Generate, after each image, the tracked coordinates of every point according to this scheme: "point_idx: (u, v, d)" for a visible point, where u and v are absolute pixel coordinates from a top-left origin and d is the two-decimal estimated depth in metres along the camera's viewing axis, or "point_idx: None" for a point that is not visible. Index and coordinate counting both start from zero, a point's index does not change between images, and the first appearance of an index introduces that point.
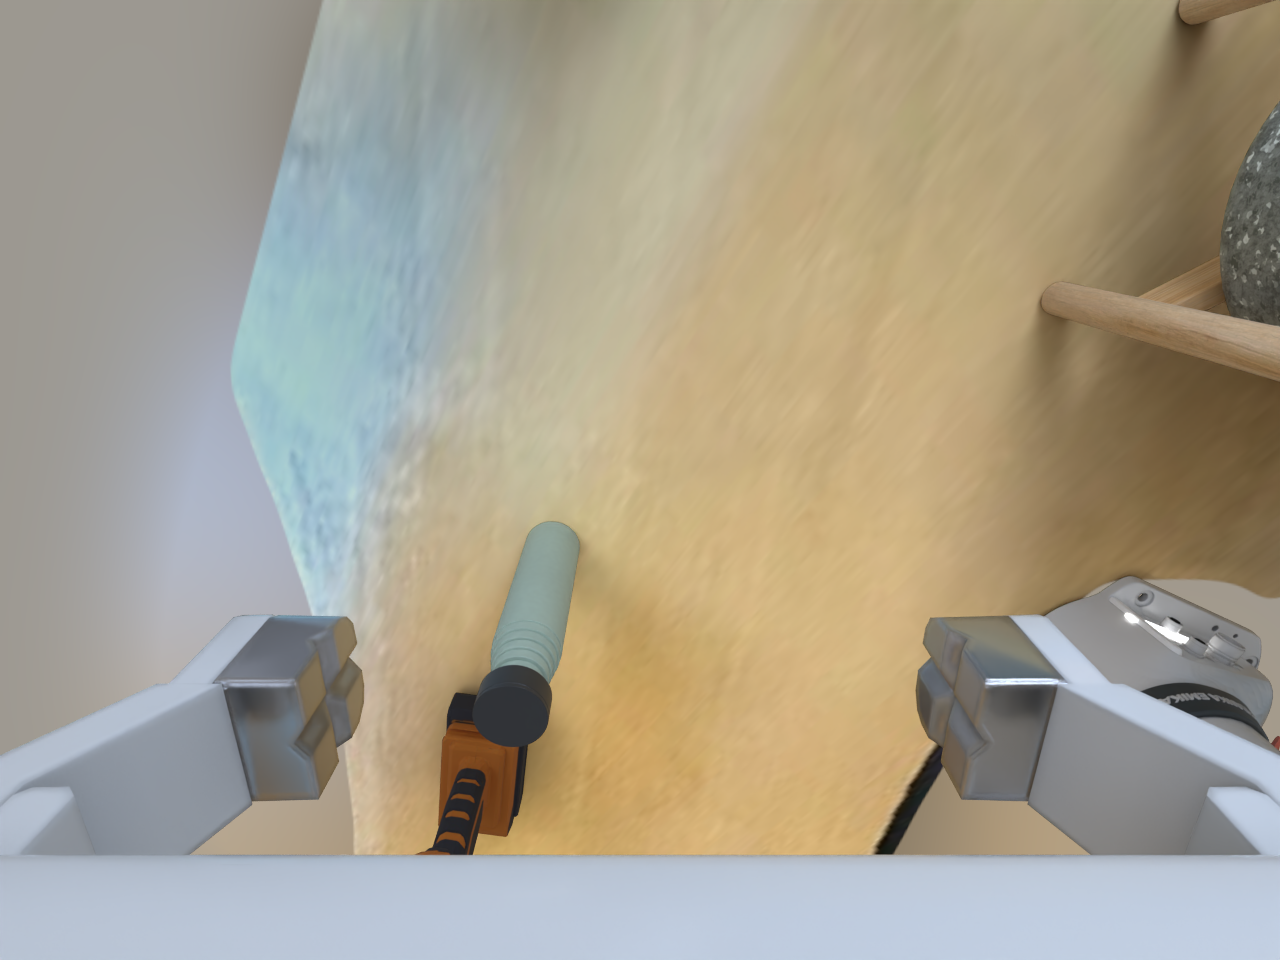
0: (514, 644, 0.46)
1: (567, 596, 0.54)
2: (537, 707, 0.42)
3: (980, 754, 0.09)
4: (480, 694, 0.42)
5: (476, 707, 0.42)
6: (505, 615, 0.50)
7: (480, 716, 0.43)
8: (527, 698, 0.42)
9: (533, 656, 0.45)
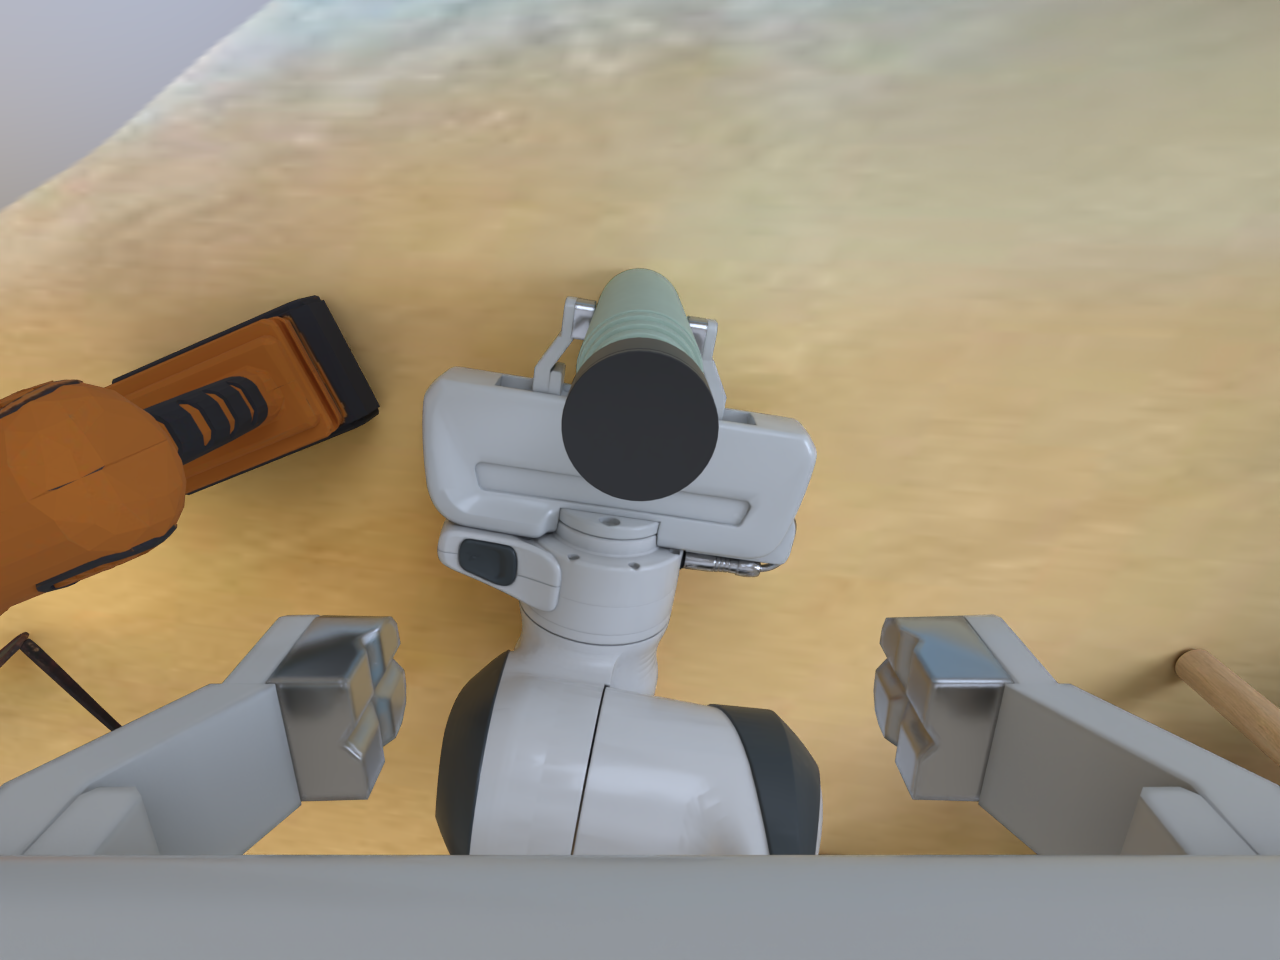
0: None
1: None
2: (689, 464, 0.21)
3: (928, 755, 0.09)
4: (655, 350, 0.20)
5: (626, 358, 0.20)
6: (658, 306, 0.27)
7: (610, 375, 0.20)
8: (700, 438, 0.21)
9: None
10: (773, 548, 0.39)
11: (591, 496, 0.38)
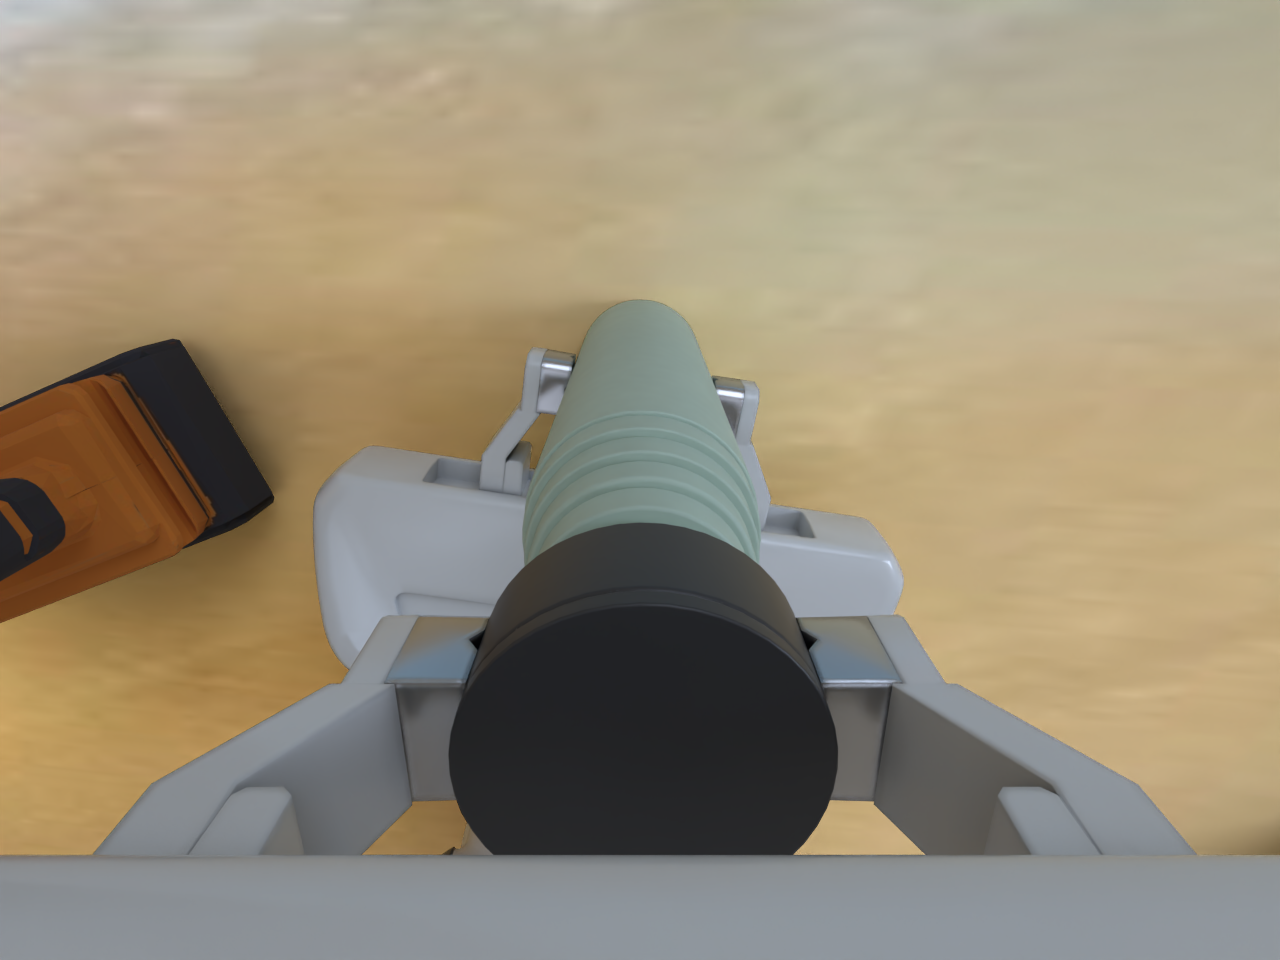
0: (730, 509, 0.12)
1: None
2: (760, 841, 0.09)
3: None
4: (683, 596, 0.08)
5: (609, 620, 0.08)
6: (674, 395, 0.15)
7: (566, 659, 0.08)
8: (791, 791, 0.08)
9: None
10: None
11: None
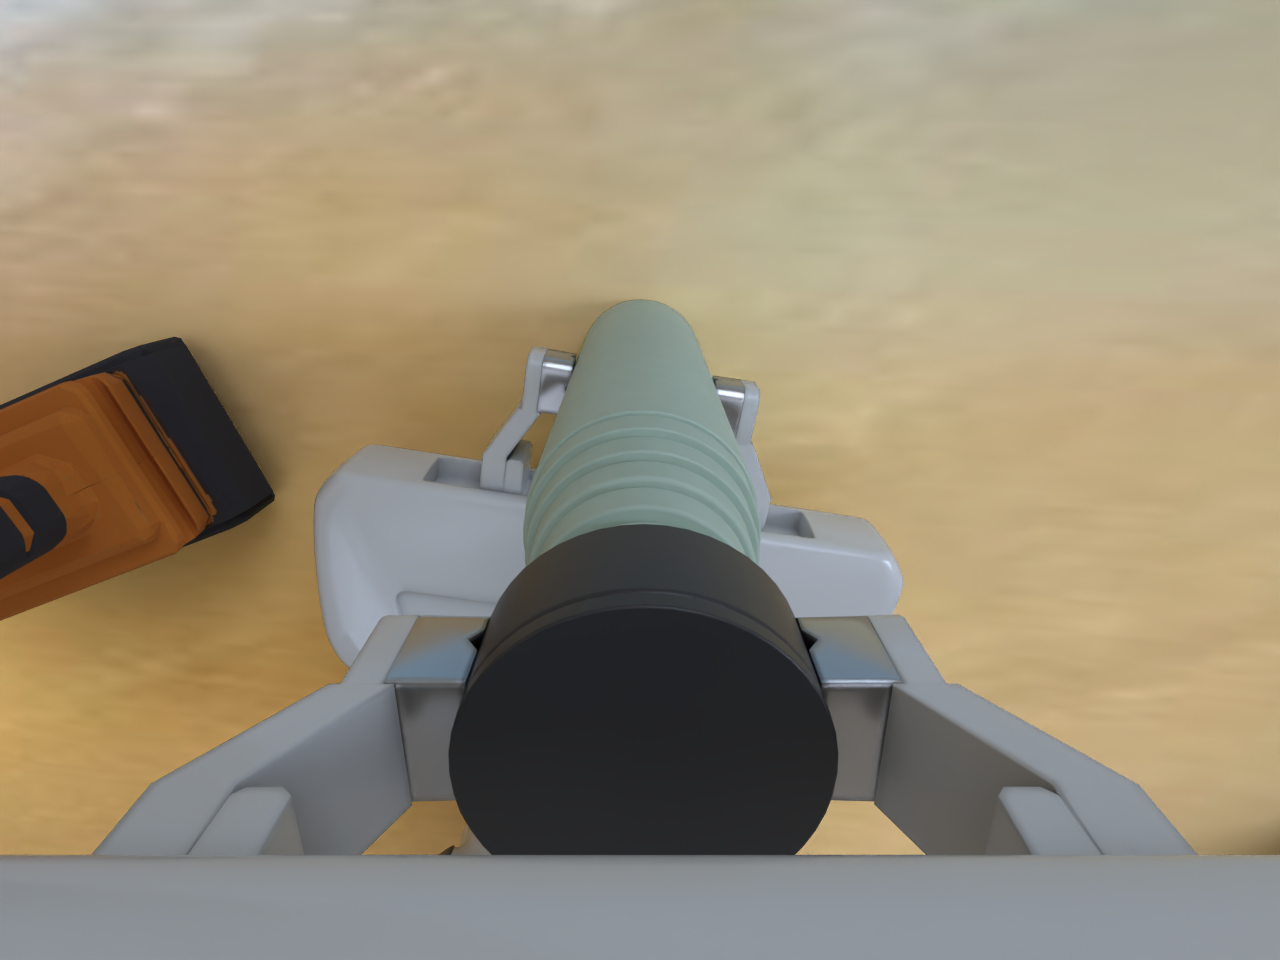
0: (730, 509, 0.12)
1: None
2: (783, 712, 0.08)
3: None
4: (478, 670, 0.08)
5: (465, 740, 0.08)
6: (675, 395, 0.15)
7: (491, 783, 0.08)
8: (731, 668, 0.08)
9: None
10: None
11: None
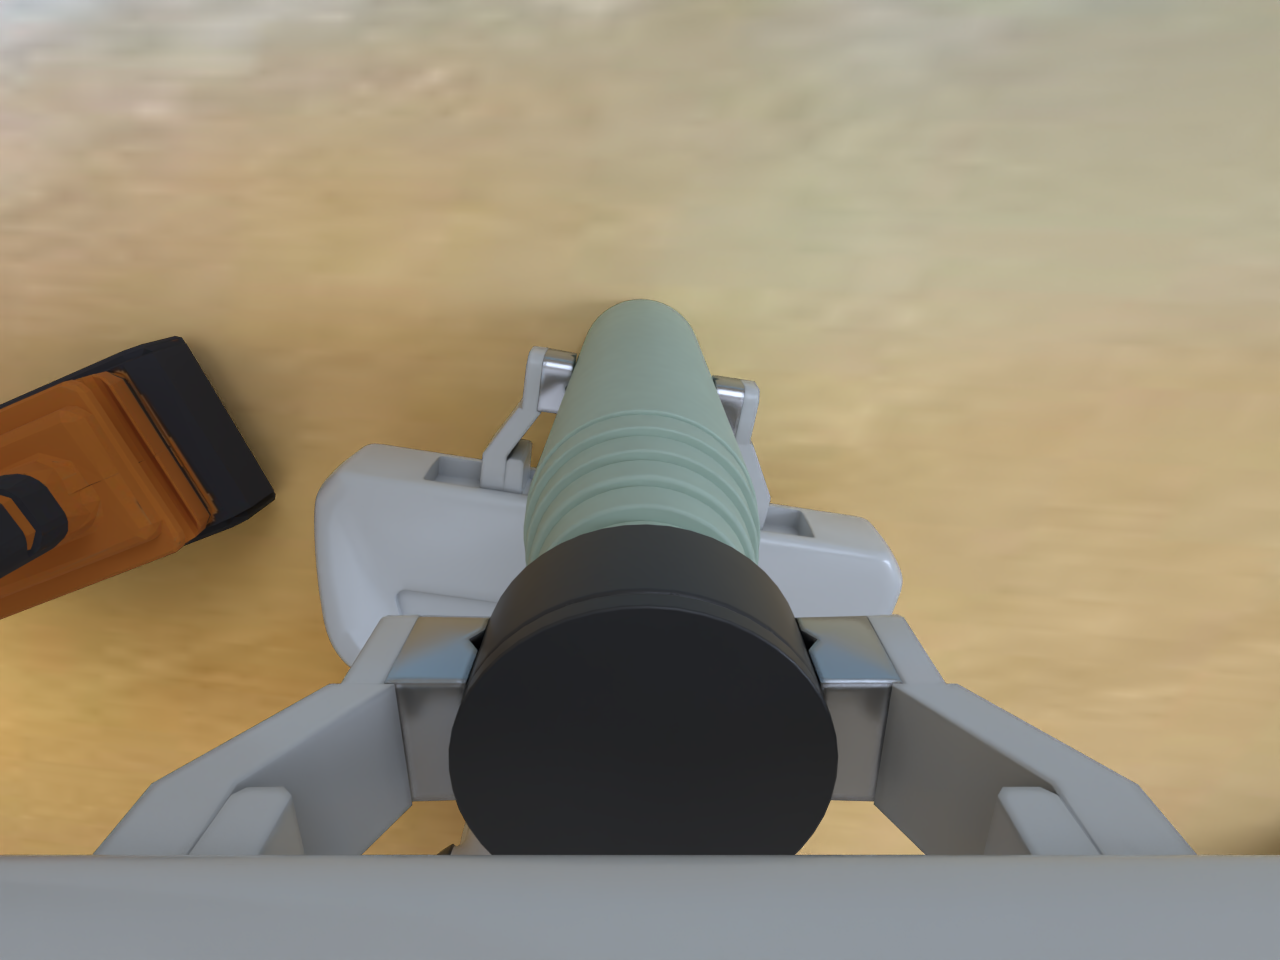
0: (730, 507, 0.12)
1: None
2: (627, 643, 0.08)
3: None
4: None
5: None
6: (675, 394, 0.15)
7: None
8: (553, 670, 0.08)
9: None
10: None
11: None
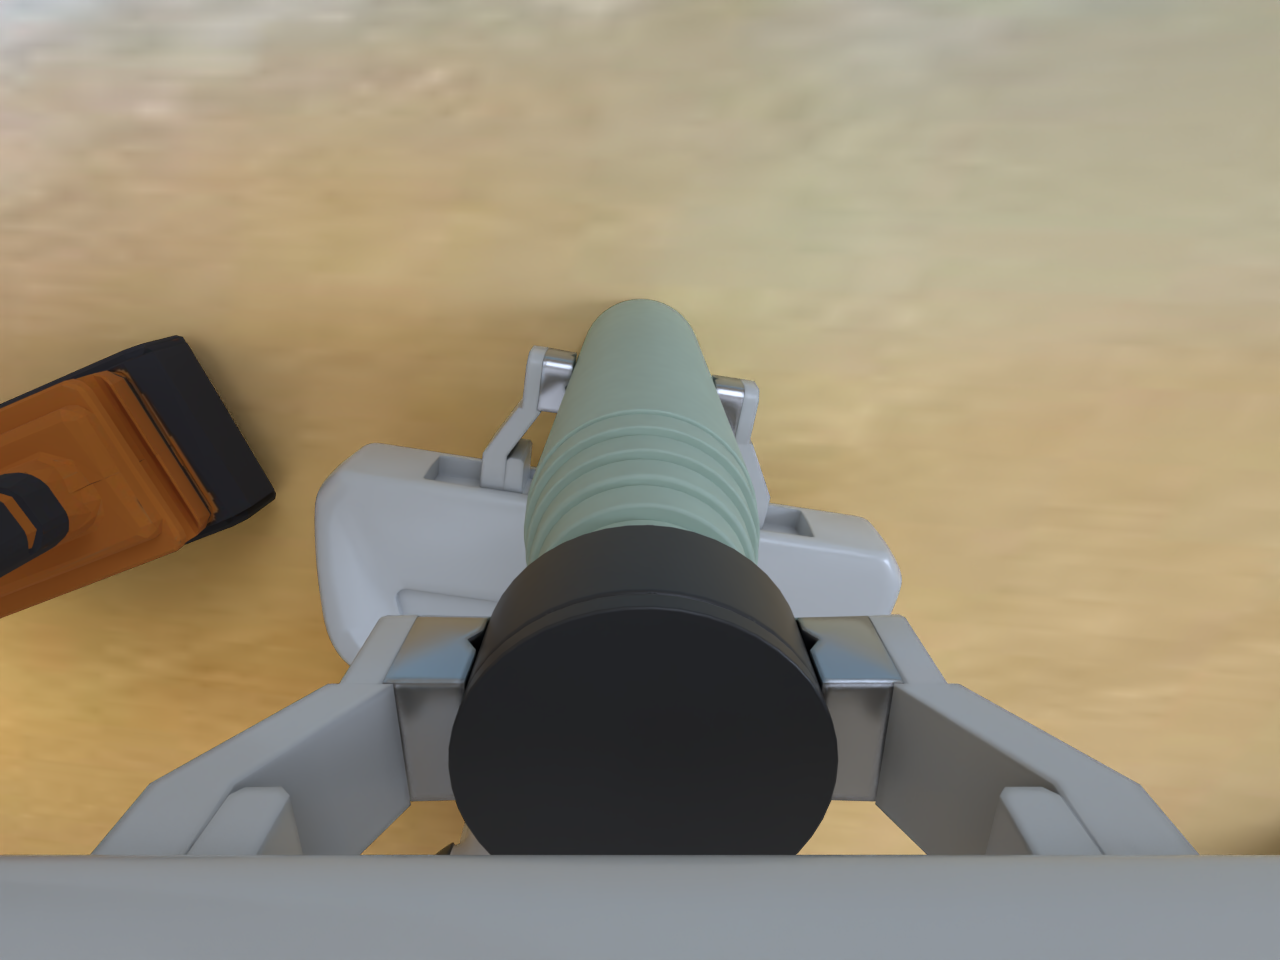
0: (729, 506, 0.12)
1: None
2: (492, 736, 0.08)
3: None
4: None
5: None
6: (674, 393, 0.15)
7: (749, 852, 0.09)
8: (495, 796, 0.08)
9: None
10: None
11: None
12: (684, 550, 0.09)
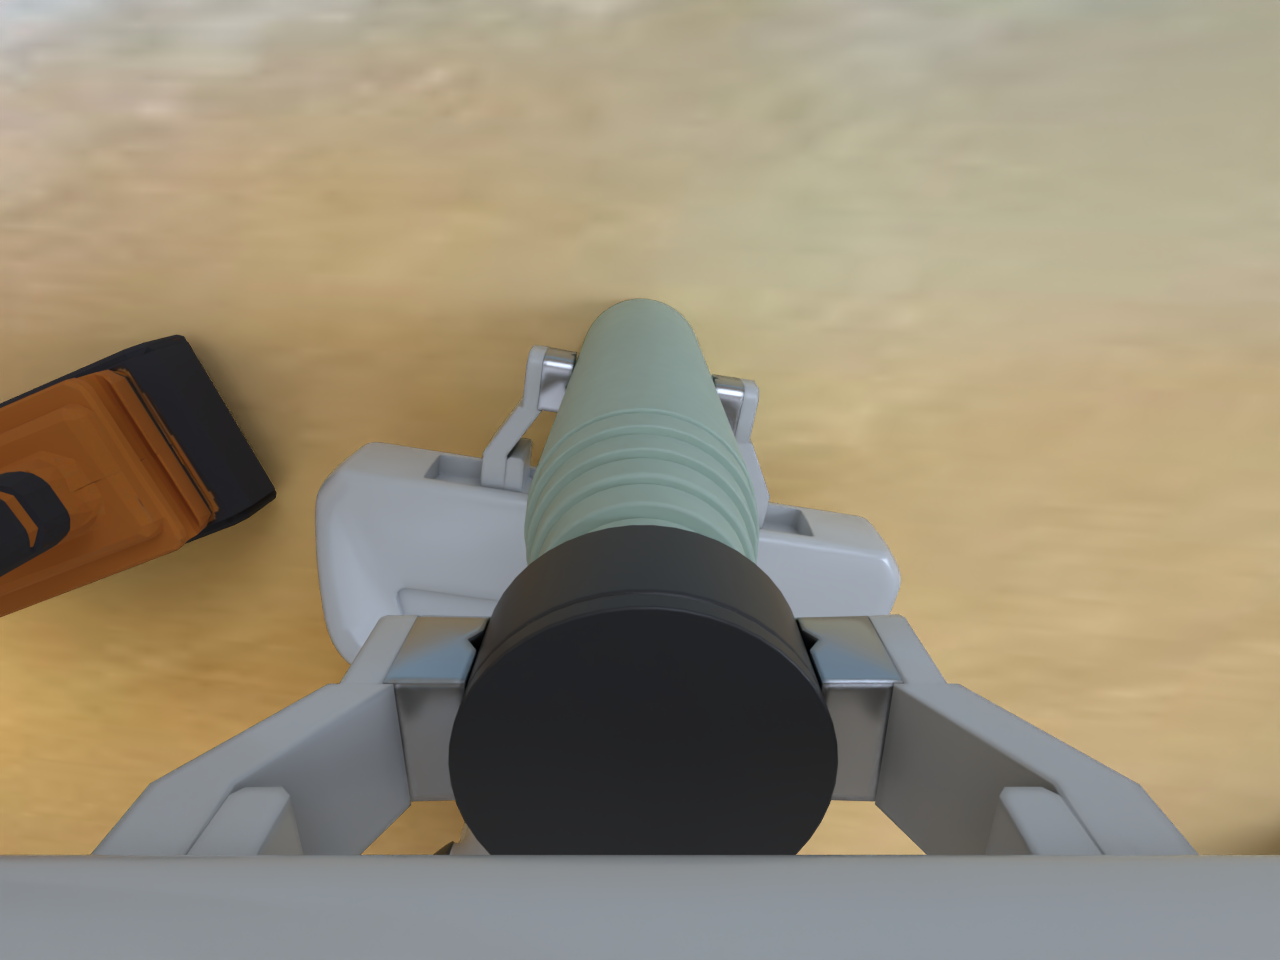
0: (729, 505, 0.12)
1: None
2: None
3: None
4: None
5: (823, 760, 0.08)
6: (674, 393, 0.15)
7: (787, 726, 0.08)
8: None
9: None
10: None
11: None
12: (500, 610, 0.09)
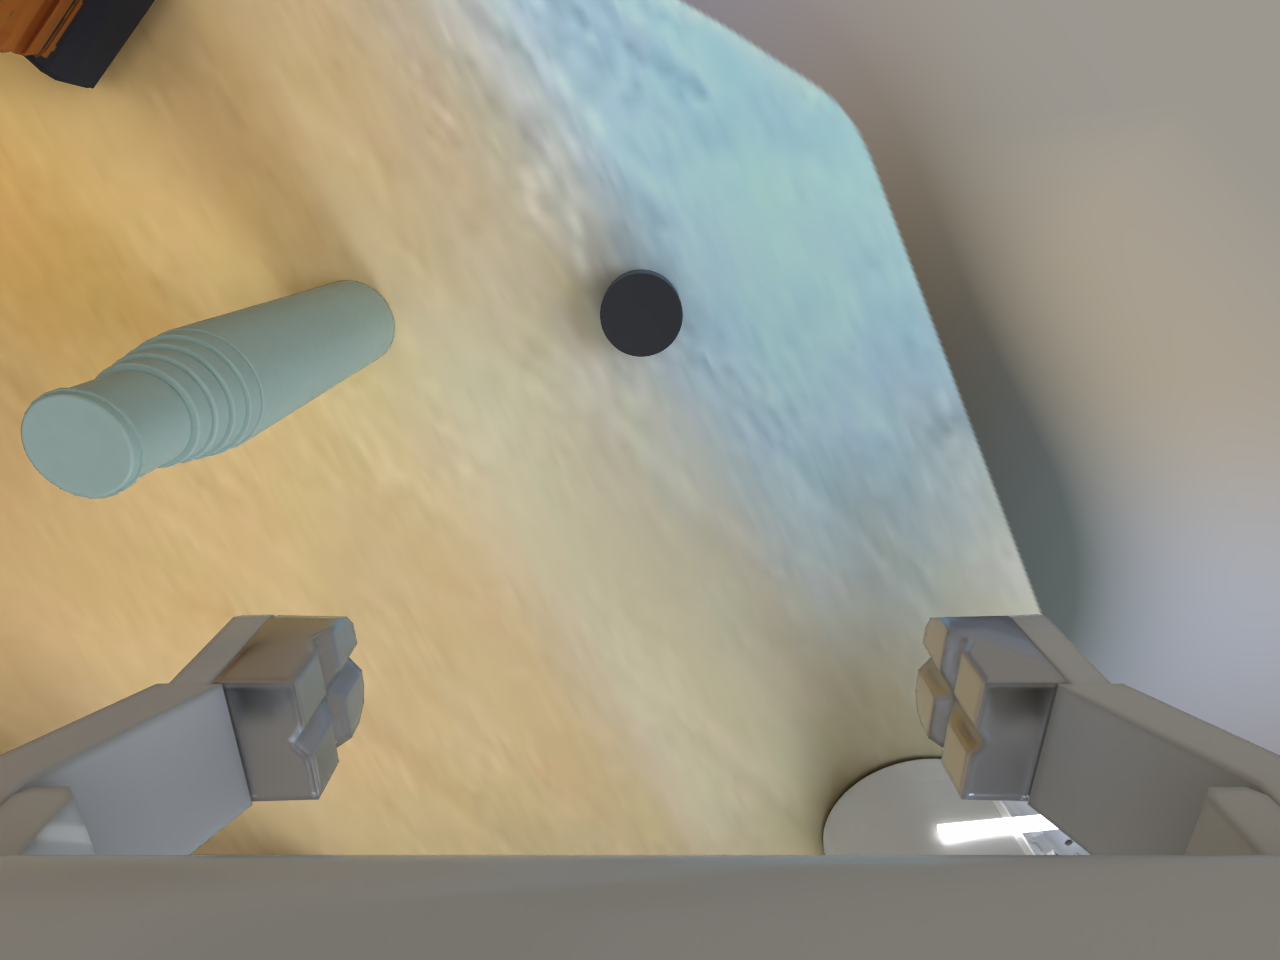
0: (220, 431, 0.25)
1: None
2: (654, 345, 0.40)
3: (979, 754, 0.09)
4: (667, 282, 0.39)
5: (653, 278, 0.39)
6: (280, 375, 0.28)
7: (641, 282, 0.39)
8: (666, 335, 0.40)
9: (181, 461, 0.25)
10: None
11: None
12: None
